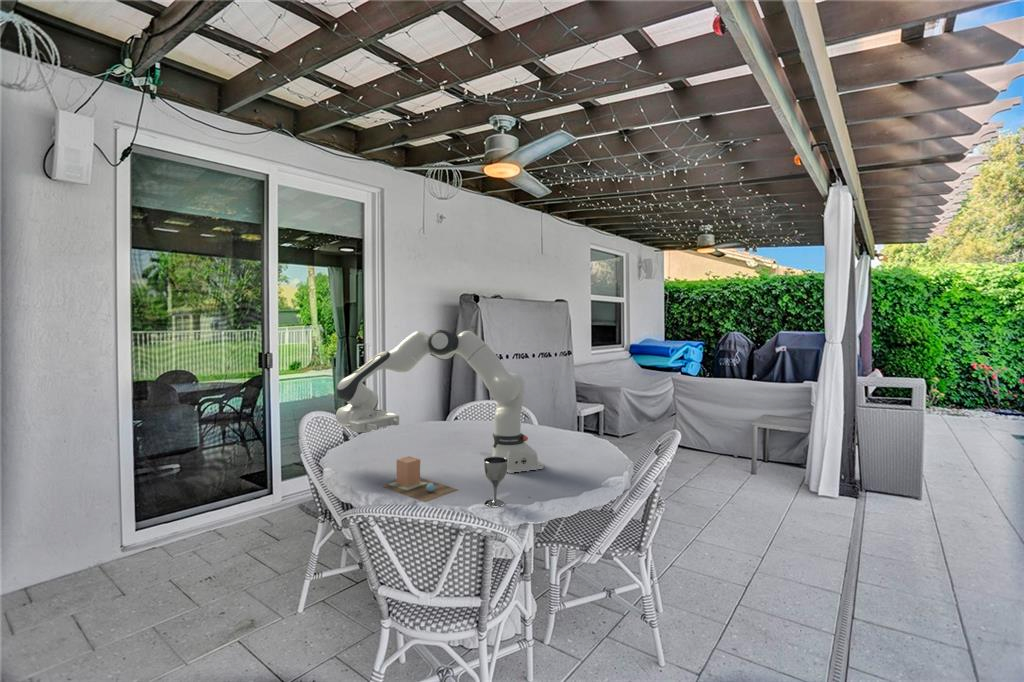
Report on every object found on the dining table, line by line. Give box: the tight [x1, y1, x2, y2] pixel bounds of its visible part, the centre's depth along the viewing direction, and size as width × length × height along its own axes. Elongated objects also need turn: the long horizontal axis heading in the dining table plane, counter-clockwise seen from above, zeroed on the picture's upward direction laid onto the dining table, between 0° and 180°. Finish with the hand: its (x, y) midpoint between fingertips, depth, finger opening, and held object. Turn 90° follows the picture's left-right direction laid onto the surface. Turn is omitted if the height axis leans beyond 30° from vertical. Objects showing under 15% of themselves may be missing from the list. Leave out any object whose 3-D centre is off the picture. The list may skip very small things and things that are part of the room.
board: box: [380, 477, 459, 503], centre depth 186 cm, size 24×16×1 cm, turn 52°
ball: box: [426, 483, 435, 492], centre depth 182 cm, size 3×3×3 cm
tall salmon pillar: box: [395, 455, 421, 487], centre depth 189 cm, size 6×6×9 cm
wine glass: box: [483, 456, 508, 506], centre depth 174 cm, size 8×8×15 cm
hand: (387, 425), depth 196 cm, fingers open, 8 cm apart
